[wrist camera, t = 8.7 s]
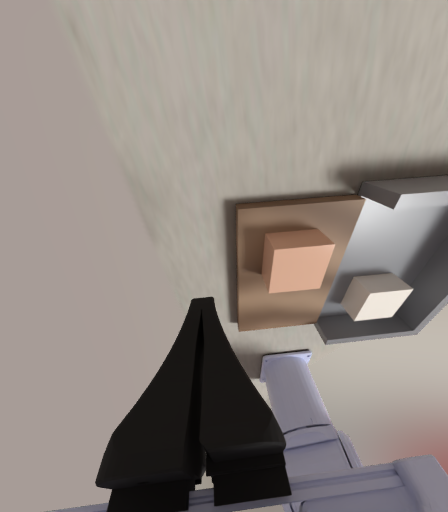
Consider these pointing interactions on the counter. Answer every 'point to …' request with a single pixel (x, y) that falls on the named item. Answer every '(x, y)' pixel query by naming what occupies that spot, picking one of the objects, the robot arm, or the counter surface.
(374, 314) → the cream tile
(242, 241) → the walnut plate
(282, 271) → the terracotta tile
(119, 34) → the counter surface
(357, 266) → the tray
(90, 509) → the robot arm
